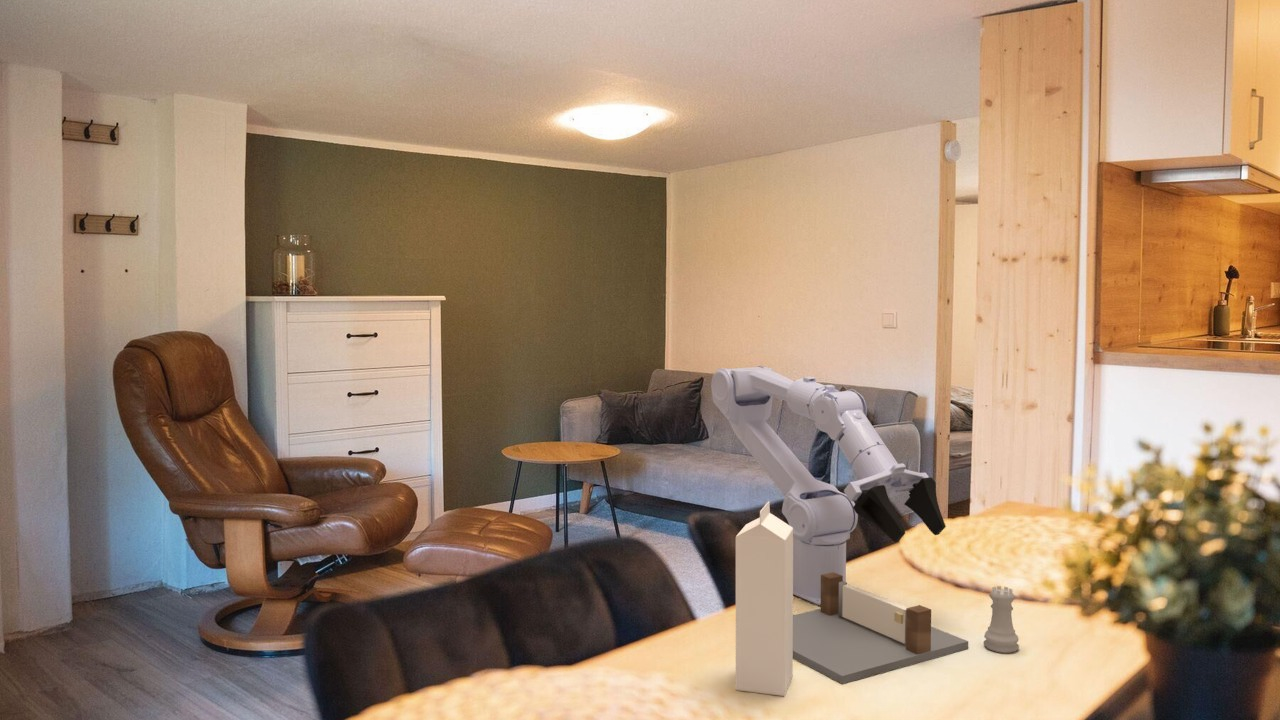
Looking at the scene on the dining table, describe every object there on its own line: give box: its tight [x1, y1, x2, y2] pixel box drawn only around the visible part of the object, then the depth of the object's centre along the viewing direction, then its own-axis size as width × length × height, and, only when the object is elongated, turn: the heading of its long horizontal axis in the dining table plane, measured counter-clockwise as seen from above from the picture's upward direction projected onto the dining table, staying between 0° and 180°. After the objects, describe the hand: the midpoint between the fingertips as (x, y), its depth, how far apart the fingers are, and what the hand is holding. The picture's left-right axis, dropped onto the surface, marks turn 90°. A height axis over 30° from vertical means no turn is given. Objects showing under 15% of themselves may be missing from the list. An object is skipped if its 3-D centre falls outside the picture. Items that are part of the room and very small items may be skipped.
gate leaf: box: [838, 581, 909, 644], centre depth 131 cm, size 13×2×5 cm, turn 30°
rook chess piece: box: [983, 585, 1020, 654], centre depth 127 cm, size 4×4×8 cm
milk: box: [735, 500, 794, 697], centre depth 115 cm, size 6×6×22 cm
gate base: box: [793, 608, 969, 685], centre depth 130 cm, size 20×22×1 cm
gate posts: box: [820, 572, 932, 654], centre depth 131 cm, size 19×2×6 cm, turn 30°
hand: (920, 534), depth 130 cm, fingers open, 7 cm apart
